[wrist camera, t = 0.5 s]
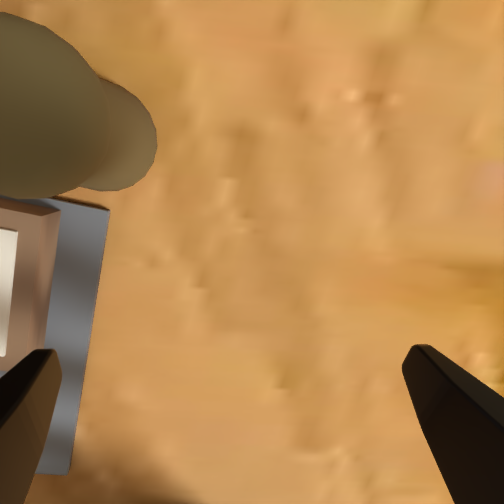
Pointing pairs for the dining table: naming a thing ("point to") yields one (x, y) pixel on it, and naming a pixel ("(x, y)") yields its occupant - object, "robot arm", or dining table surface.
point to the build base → (51, 300)
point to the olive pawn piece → (64, 119)
